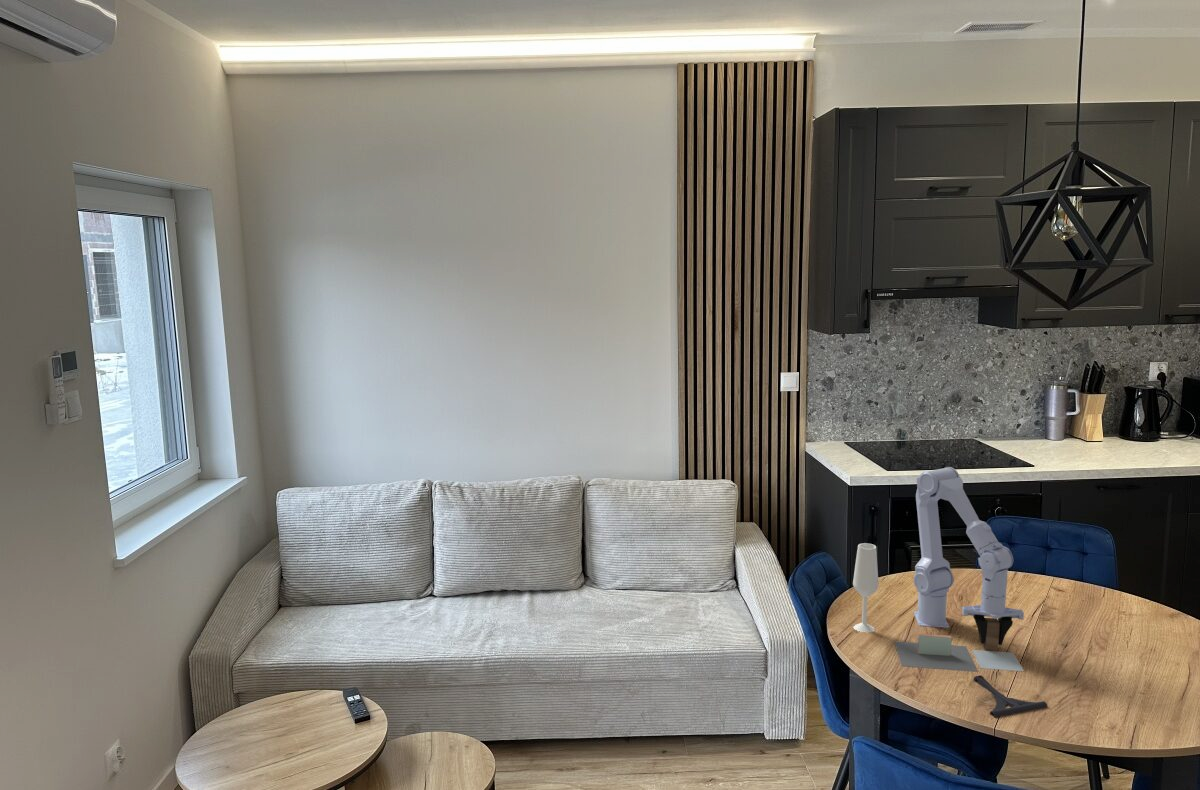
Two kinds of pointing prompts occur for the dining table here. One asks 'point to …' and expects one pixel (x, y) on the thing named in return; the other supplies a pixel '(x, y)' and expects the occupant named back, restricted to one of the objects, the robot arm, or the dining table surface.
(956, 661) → the slate mat
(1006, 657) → the rest pad
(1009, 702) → the bracket
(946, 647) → the tile
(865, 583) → the champagne flute
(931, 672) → the dining table surface
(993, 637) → the walnut stick
